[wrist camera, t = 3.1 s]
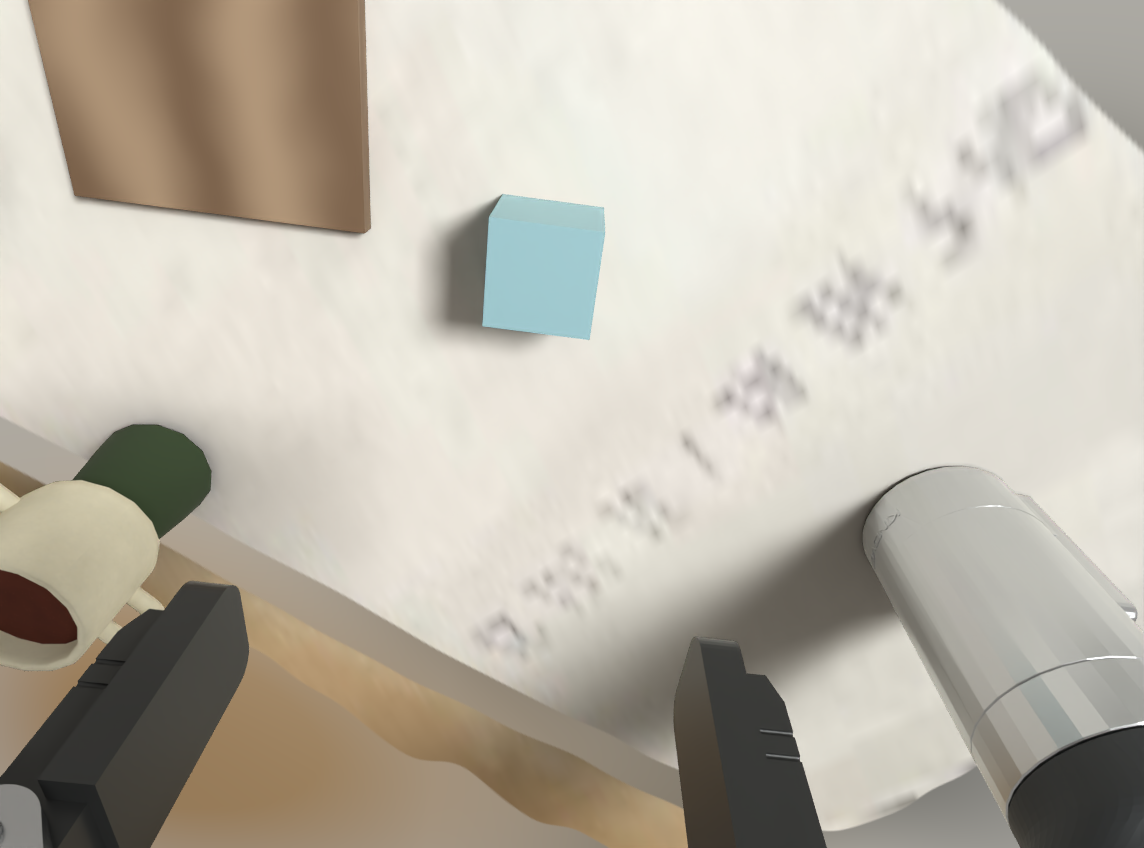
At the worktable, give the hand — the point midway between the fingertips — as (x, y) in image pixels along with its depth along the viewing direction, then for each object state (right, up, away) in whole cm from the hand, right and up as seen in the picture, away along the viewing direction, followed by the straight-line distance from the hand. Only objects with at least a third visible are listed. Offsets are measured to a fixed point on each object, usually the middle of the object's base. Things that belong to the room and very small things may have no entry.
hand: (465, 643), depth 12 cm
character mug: (-23, +2, +29) cm, 37 cm away
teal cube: (+1, +13, +22) cm, 26 cm away
